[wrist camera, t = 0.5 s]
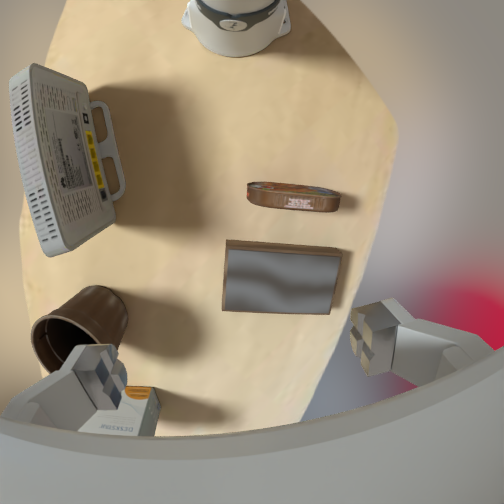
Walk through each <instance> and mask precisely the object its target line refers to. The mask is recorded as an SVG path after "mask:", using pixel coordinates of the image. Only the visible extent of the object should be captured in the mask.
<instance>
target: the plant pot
mask: <svg viewBox="0 0 504 504" xmlns="http://www.w3.org/2000/svg"><path fill="white" fill-rule="evenodd" d="M127 323H128V316H127V311H126V308H125V306H124V304H123V302H122V301H121V300H120V298H119V297H117V296H115V295H114V294H113V293H112V292H111V290H109V289H107V288H104V287H101V286H89V287H86V288H84V289H82V290H81V291H80V292H79V293H78V294H76V295H75V296H74V297H73V298H71V299H70V300H69V301H67V302H66V303H65V304H64V305H62V306H61V307H60V308H59V309H56V310H54V311H52V312H51V313H50V314H48V315H45V316H43V317H41V318H39V319H38V320H37V321H36V322H35V323H34V325H33V327H32V330H31V343H32V347H33V350H34V352H35V354H36V356H37V358H38V360H39V362H40V363H41V364H42V366H43V367H44V368H45V369H46V371H47V372H48V373H49V374H51V373H53V372H55V371H59V370H60V368H61V367H62V365H63V364H64V362H65V361H66V359H67V358H68V356H69V355H70V353H71V352H72V351H73V349H74V348H75V346H77V345H91V344H113V345H114V346H115V347H116V349H117V350H118V347H119V345H120V342H121V339H122V337H123V334H124V331H125V329H126V327H127Z"/></svg>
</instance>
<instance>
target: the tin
mask: <svg viewBox="0 0 504 504" xmlns="http://www.w3.org/2000/svg"><path fill="white" fill-rule="evenodd" d="M247 186H248V187H247V199H248V200H249V201H250V202H251V203H252V204H255V205H258V206H263V207H269V208H277V209H288V210H301V211H313V212H335V211H337V210H338V208H339V203H340V197H341V194H340V193H338V192H335V191H332V190H328V189H325V188H320V187H313V186H304V185H294V184H284V183H273V182H252V183H248V184H247Z"/></svg>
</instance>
